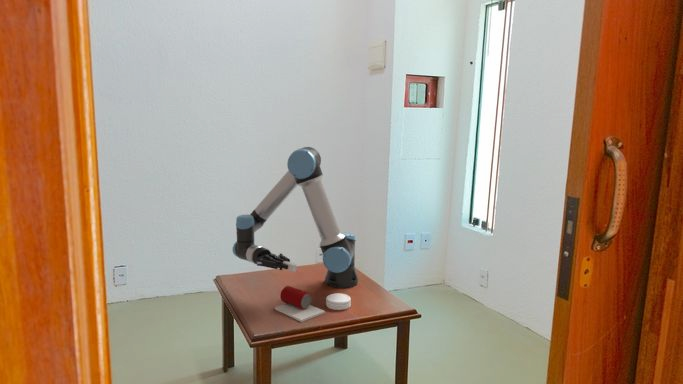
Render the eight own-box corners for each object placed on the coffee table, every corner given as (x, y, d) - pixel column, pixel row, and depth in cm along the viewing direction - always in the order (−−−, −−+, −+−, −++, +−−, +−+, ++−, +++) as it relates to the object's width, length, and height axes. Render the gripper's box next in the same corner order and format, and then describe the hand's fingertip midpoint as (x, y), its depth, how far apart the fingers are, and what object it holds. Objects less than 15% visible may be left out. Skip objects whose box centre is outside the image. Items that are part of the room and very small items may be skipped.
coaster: (355, 308, 195) (355, 299, 194) (332, 312, 190) (333, 303, 189) (343, 299, 203) (343, 291, 203) (321, 303, 199) (322, 295, 198)
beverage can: (281, 305, 196) (303, 313, 188) (277, 292, 193) (298, 300, 185) (292, 294, 200) (314, 302, 193) (288, 282, 197) (309, 289, 190)
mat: (274, 309, 191) (274, 307, 191) (298, 301, 200) (298, 299, 200) (301, 322, 180) (301, 320, 180) (324, 313, 189) (324, 311, 188)
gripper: (271, 260, 210) (307, 273, 194) (246, 267, 201) (281, 281, 185) (271, 244, 209) (307, 255, 193) (245, 250, 200) (281, 262, 184)
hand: (294, 268), depth 189 cm, fingers closed
